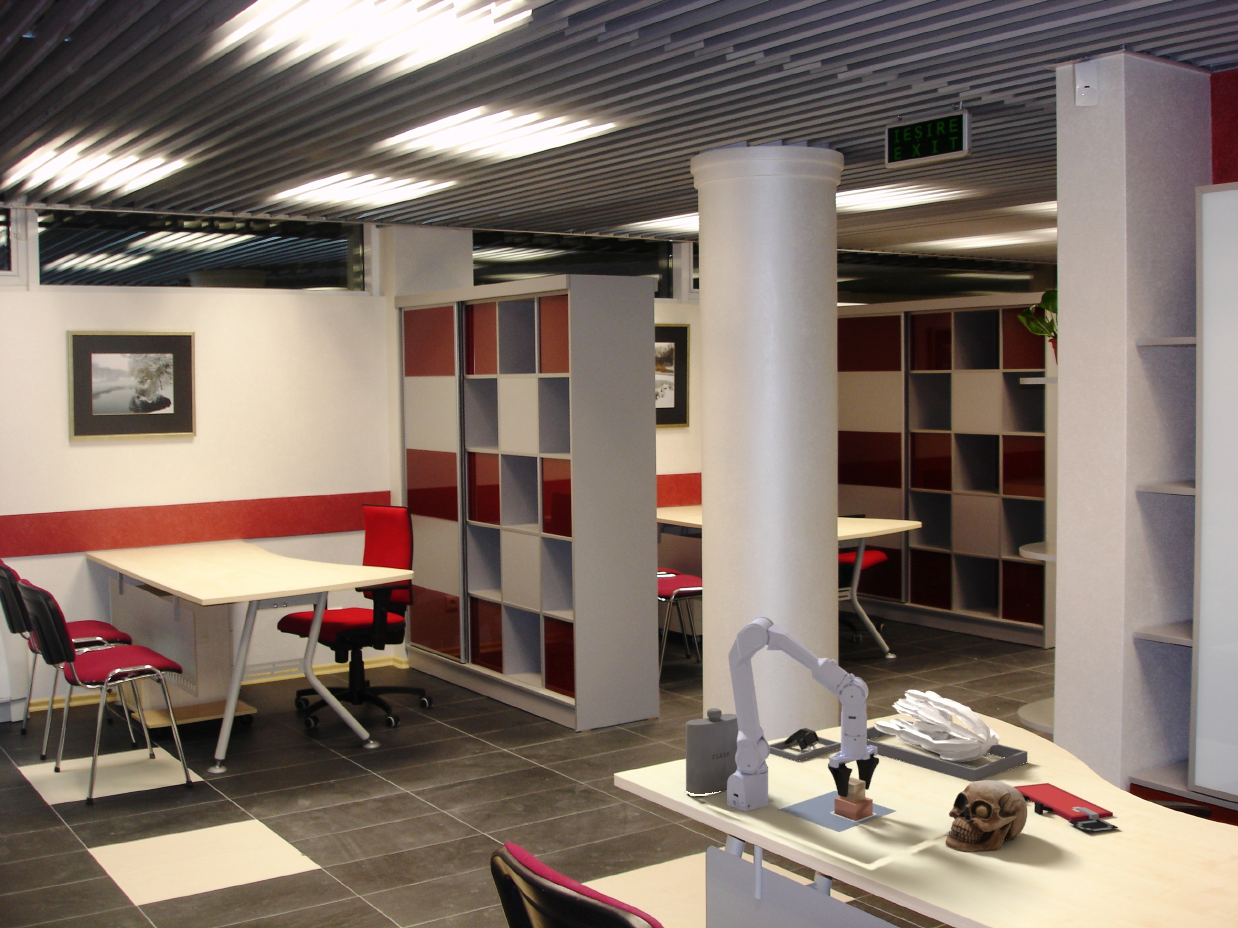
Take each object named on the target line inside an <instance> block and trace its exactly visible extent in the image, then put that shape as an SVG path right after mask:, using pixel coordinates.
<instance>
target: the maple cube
mask: <svg viewBox="0 0 1238 928" xmlns="http://www.w3.org/2000/svg"><path fill="white" fill-rule="evenodd" d="M865 797H866V789H865V781H862V780H859V778H855V777H852V776H850V779H849V785H848V795H847V797H842V796H840V798H841V799H844V800H847V801H850V802H853V803H855V802H858V801H861V800H864V799H865Z"/></svg>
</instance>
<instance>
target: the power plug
mask: <svg viewBox="0 0 1238 928" xmlns="http://www.w3.org/2000/svg"><path fill="white" fill-rule="evenodd" d="M818 737H819V736H818V734H817V732H816V730H812V729H809V728H807V727H804V728H800V729H798V730H796V731H795V732H794V733H792V734H791V735H789V736H788V737H787V738H786V739H785V745H787V744H790V743H792V742H795V741H797V745H798V747H799V749H800V751H805V750H808V751H811V750H814V749H818V747H816V745H817V744H820V743H819V742H820V740H819V738H818Z"/></svg>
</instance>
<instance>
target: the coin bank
mask: <svg viewBox="0 0 1238 928" xmlns="http://www.w3.org/2000/svg"><path fill="white" fill-rule="evenodd" d="M1026 802H1027V801H1026V800H1025V799H1024V797H1023V795H1022V794H1021V793H1020V792H1019V791H1018V790H1017V789H1016V788H1014V786H1012V785H1010V784H1007V783H1005V782H1003V781H998V780H991V779H990V780H989V779H987V780H984V779H983V780H979V781H974V782H972V781H970V783H969V784H968V785H966V787H965V788H964V790H963V791H959V793H958V794H957V795H956V797H955V800H954V802H953V805H952V809H951V810H950V811H949V812H948V817H950V818H953V822H952V824H951V827H950V832H949V834H948V835H947V837H946V839H945V846H946V847H949V848H951V849H953V850H956V851H962V852H979V851H989V850H990V851H998V850H1000V848H1001V846H1002V844H1003V842H1004V841H1013V840H1015V838H1017V837H1018V836H1019V835H1020V834H1021V833H1022V831H1023V830H1024V827H1025V826H1026V823H1027V818H1028V806H1027V803H1026Z"/></svg>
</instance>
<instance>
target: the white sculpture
mask: <svg viewBox="0 0 1238 928" xmlns="http://www.w3.org/2000/svg"><path fill="white" fill-rule="evenodd" d="M904 696H905V698H898V701H896V702H893V704H892V705H891V707H893V708H894V709H895V711H896V712H898V713H899V714H900V715H904V716H908V717H911V718H914V719H913V721H915V722H914V723H913V724H911V723H909V722H907V721H908V720H906V721H905V719H901V718H899V717H897V718H896V717H895V718H894V719H893V718H891V719H890V720H888V721H884V720H878V721H877V722H874V724H875V725H874V727H875V728H876V729H877V730H879V731H881V732H884V733H887V734H886V735H891V736H896V738H897V739H899V740H901V742H902V741H903V742H905V743H907V742H908V744H911V745H914V746H921V748H923V749H924V750H927V751H929V752H931V753H936V754H939V759H940V760H944V761H947V762H948V761H949V762H951V763H962V762H963V763H964V762H969V761H975V760H979V759H981V758H982V757H985V758H986V757H987V756H988V755H989V754H988V753H989V749H990V747H991V746H992V745H997V744H999V742H1000V736H999V734H998V733H997V732H995V730H993V729H992V728H991V727H990V725H988V724H986V722H984V720H983V719H981V718H980V716H979V715H978V714H977V713H976V712H973V710H972V709H971V707H969V706H966V705H963V704H962V703H960V702H957V700H956V701H955V700H953V699H950V698H946V697H942V696H941V695H939V694H938V693H936V692H934V691H932V690H927V691H925V692H922V691H920V690H917V689H908V690H905V691H904ZM955 715H956V718H957V719H959V721H960V722H961V723H964V724H965V725H966V726H967V727H968V728H967V727H964V726H963V725H961V724H958V723H956V722H954V719H953V716H955ZM888 722H889V723H888ZM969 728H970V729H971V730H970V729H969ZM952 736H953V737H955V738H952Z"/></svg>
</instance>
